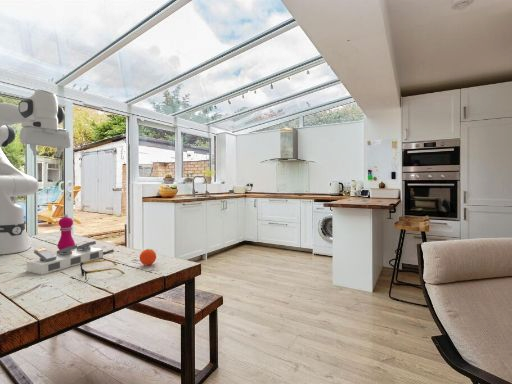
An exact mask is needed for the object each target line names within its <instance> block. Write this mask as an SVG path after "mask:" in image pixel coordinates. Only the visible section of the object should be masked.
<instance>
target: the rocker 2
mask: <svg viewBox="0 0 512 384" xmlns="http://www.w3.org/2000/svg"><path fill="white" fill-rule="evenodd" d="M77 247H78V244H75V246H70V247H67V248H64V249H61V250H59V249H58V250H57V251H56V254H62V253H64V252H68V251H71V250H77Z"/></svg>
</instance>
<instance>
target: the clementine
mask: <svg viewBox="0 0 512 384" xmlns="http://www.w3.org/2000/svg"><path fill="white" fill-rule="evenodd" d="M156 252H157V254H158V251H156ZM156 252H155V249H154V248H147V249H144V250H143V251H141V252H140V254H139V261H140V263H141V264H143V265H145V266H150V265H153V264H154V263H155V261H156V259H157V254H156Z"/></svg>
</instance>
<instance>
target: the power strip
mask: <svg viewBox="0 0 512 384" xmlns="http://www.w3.org/2000/svg"><path fill="white" fill-rule="evenodd" d="M114 251H115V250H114V249H113V248H112V249H108V250H105V251H104V249H103V248H96V247H91V246H89V247H86V248H82V249H79V250H77V249H74V251H68V252H64V253H62V254H57V253H56V254H54V255H55V256H57V257H56V260H52V261H48V262H46V261H44V260H43V259H42V258H40V257H39V258H35V259H32V260H27V261H26V272H29V273H34V274H39V275H46V274H49V273H53V272H56V271H60V270H64V269H67V268H70V267H74V266H78V265H80V263H81V262H90V261H97V260H99V259H102V258H103V257H104V255H106V254H109V252H110V253H113V252H114Z"/></svg>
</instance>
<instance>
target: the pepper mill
mask: <svg viewBox="0 0 512 384" xmlns="http://www.w3.org/2000/svg"><path fill="white" fill-rule="evenodd" d="M73 225H74V219H72V218H71V217H69V215H68V214H66V213H65V214H63V217H62V218H60V219H59V220H58V226H59V227H60V228H59V231H60V237H59V240H58V243H57V249H58V250H61V249H64V248H67V247H70V246H75V245H76V243H75V241H74V238H73V236H72V230H73ZM74 250H75V249H74ZM74 250H71V251H74Z"/></svg>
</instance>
